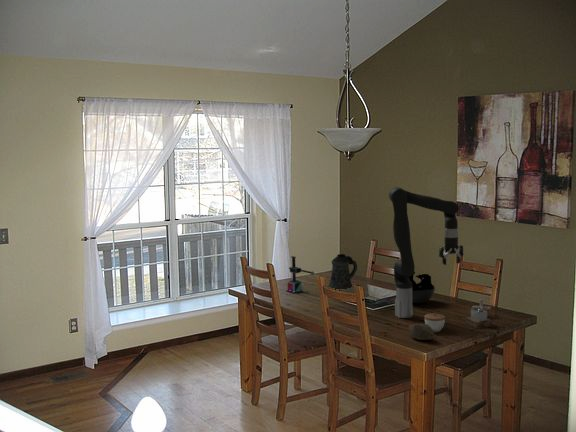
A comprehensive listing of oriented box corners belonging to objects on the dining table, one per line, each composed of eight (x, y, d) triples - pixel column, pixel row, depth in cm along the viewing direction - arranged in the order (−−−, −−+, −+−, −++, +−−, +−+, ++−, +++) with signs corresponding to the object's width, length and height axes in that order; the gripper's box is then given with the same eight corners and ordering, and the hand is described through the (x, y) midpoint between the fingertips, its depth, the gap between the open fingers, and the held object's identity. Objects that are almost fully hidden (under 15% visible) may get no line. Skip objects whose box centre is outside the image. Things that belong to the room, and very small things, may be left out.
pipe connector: (490, 314, 365) (490, 297, 364) (490, 319, 356) (490, 301, 355) (472, 313, 368) (472, 296, 367) (471, 318, 359) (471, 300, 358)
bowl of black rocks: (435, 307, 384) (435, 277, 381) (402, 306, 387) (401, 276, 385) (434, 299, 403) (433, 270, 401) (402, 298, 407) (401, 270, 405)
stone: (440, 340, 322) (440, 325, 321) (429, 344, 316) (429, 329, 316) (414, 333, 335) (413, 319, 334) (403, 337, 330) (402, 322, 329)
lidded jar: (444, 327, 344) (444, 310, 343) (445, 333, 333) (445, 316, 332) (424, 326, 346) (424, 310, 345) (424, 332, 336) (424, 315, 335)
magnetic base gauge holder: (282, 290, 439) (281, 256, 436) (292, 288, 445) (291, 254, 442) (306, 296, 420) (305, 260, 417) (316, 294, 426) (315, 258, 423)
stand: (475, 328, 340) (475, 322, 340) (464, 322, 351) (464, 317, 351) (493, 325, 343) (493, 320, 343) (481, 320, 354) (482, 315, 354)
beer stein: (323, 291, 434) (322, 255, 431) (342, 285, 447) (341, 251, 444) (341, 294, 422) (340, 258, 419) (360, 289, 435) (359, 253, 432)
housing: (470, 317, 350) (470, 307, 349) (478, 316, 351) (478, 306, 350) (479, 321, 342) (479, 310, 341) (487, 320, 343) (487, 309, 343)
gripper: (458, 234, 367) (458, 261, 369) (436, 236, 363) (436, 263, 365) (465, 236, 360) (465, 264, 362) (443, 238, 356) (443, 266, 358)
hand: (451, 263), depth 363 cm, fingers open, 8 cm apart
